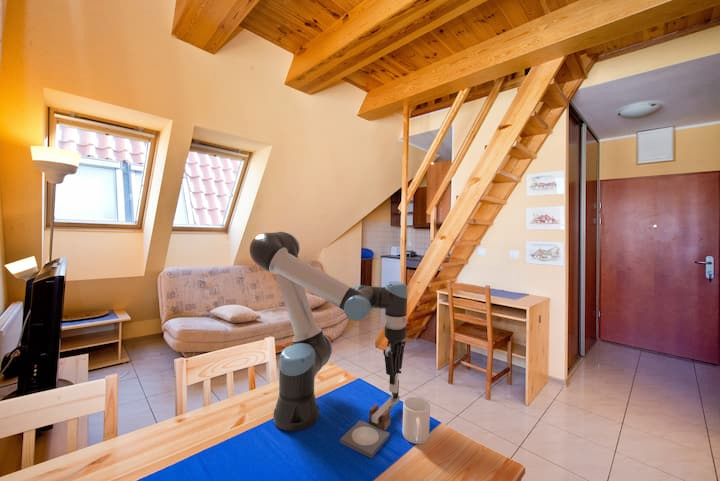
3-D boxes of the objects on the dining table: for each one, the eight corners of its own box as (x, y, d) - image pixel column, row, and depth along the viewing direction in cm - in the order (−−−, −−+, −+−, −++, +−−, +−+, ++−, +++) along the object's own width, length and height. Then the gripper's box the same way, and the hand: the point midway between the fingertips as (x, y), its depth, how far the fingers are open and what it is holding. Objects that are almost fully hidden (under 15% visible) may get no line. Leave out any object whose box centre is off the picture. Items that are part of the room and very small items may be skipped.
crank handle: (371, 421, 102) (371, 397, 101) (393, 398, 115) (394, 378, 115) (377, 424, 100) (378, 400, 100) (399, 400, 114) (400, 379, 113)
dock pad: (340, 442, 95) (340, 438, 95) (359, 423, 104) (359, 419, 104) (371, 458, 89) (371, 453, 89) (389, 436, 98) (389, 432, 98)
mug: (433, 455, 91) (434, 420, 90) (404, 453, 91) (405, 419, 91) (426, 428, 103) (427, 397, 102) (401, 426, 103) (402, 396, 103)
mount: (368, 424, 104) (369, 409, 104) (374, 417, 107) (375, 403, 107) (384, 430, 101) (385, 415, 100) (390, 424, 104) (390, 409, 104)
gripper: (396, 333, 103) (394, 403, 104) (412, 323, 113) (410, 386, 115) (376, 329, 107) (375, 396, 108) (394, 319, 118) (392, 380, 119)
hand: (393, 391), depth 111 cm, fingers closed
